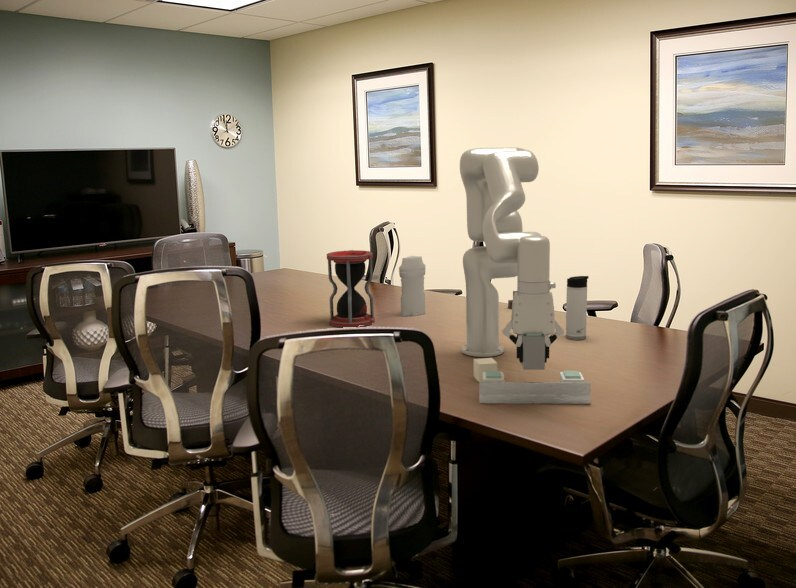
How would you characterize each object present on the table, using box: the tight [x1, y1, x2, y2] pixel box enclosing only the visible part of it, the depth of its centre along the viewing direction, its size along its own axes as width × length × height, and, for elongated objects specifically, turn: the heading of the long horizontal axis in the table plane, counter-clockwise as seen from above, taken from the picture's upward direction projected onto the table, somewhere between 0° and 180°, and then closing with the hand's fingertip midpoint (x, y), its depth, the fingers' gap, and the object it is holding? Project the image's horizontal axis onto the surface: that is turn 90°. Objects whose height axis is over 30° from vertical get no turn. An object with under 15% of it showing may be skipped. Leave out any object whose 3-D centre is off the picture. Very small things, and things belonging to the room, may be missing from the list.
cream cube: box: [473, 357, 498, 383], centre depth 192 cm, size 5×5×5 cm
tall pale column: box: [398, 255, 426, 317], centre depth 267 cm, size 11×4×22 cm, turn 114°
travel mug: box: [565, 275, 589, 341], centre depth 229 cm, size 6×7×20 cm
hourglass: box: [326, 249, 376, 328], centre depth 257 cm, size 16×16×25 cm
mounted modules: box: [483, 370, 585, 382], centre depth 179 cm, size 6×24×6 cm, turn 85°
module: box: [521, 334, 546, 371], centre depth 177 cm, size 7×5×8 cm
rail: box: [478, 381, 591, 405], centre depth 174 cm, size 2×26×5 cm, turn 85°
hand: (532, 360), depth 177 cm, fingers closed on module, 5 cm apart
